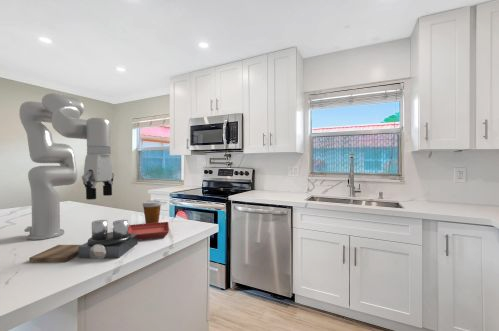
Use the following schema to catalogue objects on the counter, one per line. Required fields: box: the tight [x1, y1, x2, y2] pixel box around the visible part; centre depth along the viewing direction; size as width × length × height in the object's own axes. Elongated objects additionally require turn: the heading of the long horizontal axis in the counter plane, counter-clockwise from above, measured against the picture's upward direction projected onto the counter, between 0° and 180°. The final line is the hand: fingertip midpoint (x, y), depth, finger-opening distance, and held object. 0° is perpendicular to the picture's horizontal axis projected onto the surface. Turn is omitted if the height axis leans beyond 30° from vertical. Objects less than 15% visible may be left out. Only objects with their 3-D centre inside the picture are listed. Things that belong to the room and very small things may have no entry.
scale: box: [77, 231, 139, 260], centre depth 87 cm, size 14×15×6 cm
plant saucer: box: [128, 221, 170, 241], centre depth 108 cm, size 18×18×3 cm
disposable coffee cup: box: [142, 200, 162, 224], centre depth 125 cm, size 10×10×12 cm
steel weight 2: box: [112, 219, 129, 239], centre depth 88 cm, size 5×5×6 cm
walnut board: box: [28, 244, 82, 263], centre depth 84 cm, size 12×12×2 cm
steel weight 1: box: [91, 219, 109, 240], centre depth 88 cm, size 5×5×6 cm
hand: (99, 197), depth 87 cm, fingers open, 9 cm apart
